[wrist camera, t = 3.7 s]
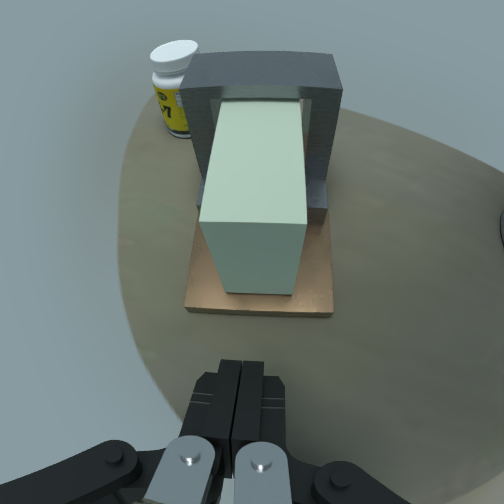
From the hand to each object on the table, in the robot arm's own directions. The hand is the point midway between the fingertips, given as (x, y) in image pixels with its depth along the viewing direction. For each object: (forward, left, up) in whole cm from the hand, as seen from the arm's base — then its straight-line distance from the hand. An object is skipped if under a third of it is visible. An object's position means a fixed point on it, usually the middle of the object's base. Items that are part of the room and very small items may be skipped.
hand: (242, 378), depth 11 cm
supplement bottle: (-13, -20, -8) cm, 25 cm away
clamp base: (-10, -8, -8) cm, 15 cm away
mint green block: (-7, -6, -6) cm, 11 cm away
